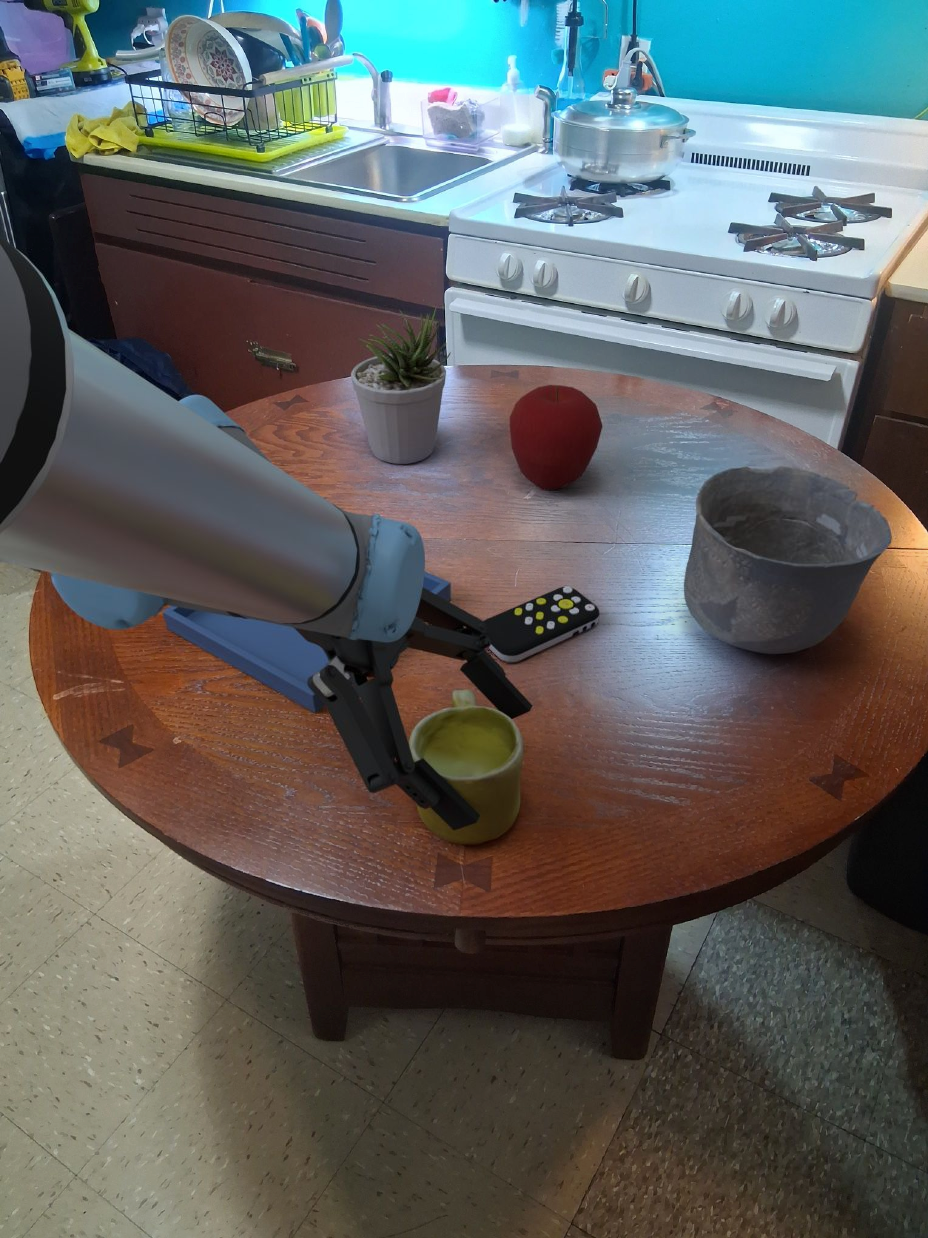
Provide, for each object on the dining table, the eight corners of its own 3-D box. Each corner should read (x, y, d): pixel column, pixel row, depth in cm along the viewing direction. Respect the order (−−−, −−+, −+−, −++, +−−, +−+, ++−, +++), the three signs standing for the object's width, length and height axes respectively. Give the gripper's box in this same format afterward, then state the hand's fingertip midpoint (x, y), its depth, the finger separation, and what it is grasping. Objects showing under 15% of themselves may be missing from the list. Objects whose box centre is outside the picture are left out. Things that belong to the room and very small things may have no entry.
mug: (537, 858, 68) (503, 754, 64) (415, 868, 71) (376, 770, 67) (553, 763, 78) (525, 668, 74) (447, 776, 82) (415, 686, 78)
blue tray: (315, 713, 83) (312, 695, 81) (166, 628, 93) (161, 611, 91) (451, 599, 96) (450, 582, 95) (308, 536, 106) (306, 519, 105)
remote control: (472, 636, 92) (472, 621, 90) (567, 594, 97) (569, 580, 96) (507, 669, 88) (507, 654, 86) (604, 623, 93) (606, 609, 92)
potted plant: (384, 485, 115) (373, 337, 103) (344, 442, 125) (329, 301, 112) (467, 462, 120) (467, 318, 107) (423, 422, 129) (417, 285, 117)
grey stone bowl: (858, 608, 95) (902, 488, 85) (834, 713, 82) (882, 587, 73) (696, 566, 101) (720, 450, 91) (651, 658, 89) (673, 535, 79)
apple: (600, 505, 111) (610, 409, 103) (508, 505, 111) (511, 408, 103) (591, 459, 120) (600, 367, 112) (507, 459, 121) (509, 366, 112)
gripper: (356, 517, 78) (512, 685, 83) (195, 694, 61) (406, 892, 66) (407, 476, 73) (570, 657, 78) (248, 656, 56) (471, 873, 61)
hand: (495, 765), depth 72 cm, fingers open, 12 cm apart
